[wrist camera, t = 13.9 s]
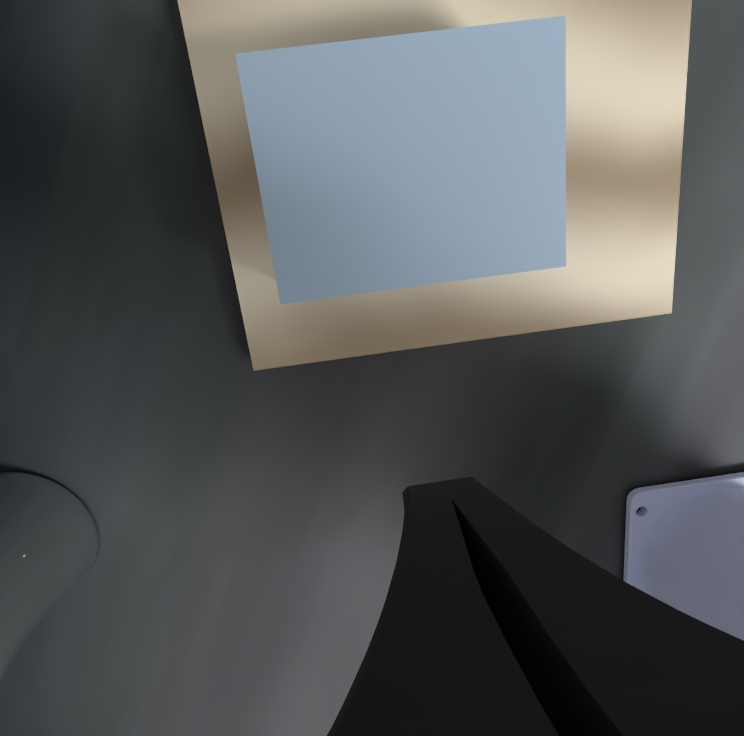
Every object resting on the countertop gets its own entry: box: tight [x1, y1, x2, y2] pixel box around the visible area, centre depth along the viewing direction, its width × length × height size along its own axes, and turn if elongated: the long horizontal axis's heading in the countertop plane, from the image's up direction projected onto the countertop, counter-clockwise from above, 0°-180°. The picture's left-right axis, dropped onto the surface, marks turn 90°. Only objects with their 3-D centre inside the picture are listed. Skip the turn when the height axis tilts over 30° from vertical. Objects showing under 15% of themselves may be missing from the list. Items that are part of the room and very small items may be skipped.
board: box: [177, 0, 692, 371], centre depth 16 cm, size 12×16×1 cm
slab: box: [235, 16, 566, 304], centre depth 14 cm, size 6×4×8 cm
